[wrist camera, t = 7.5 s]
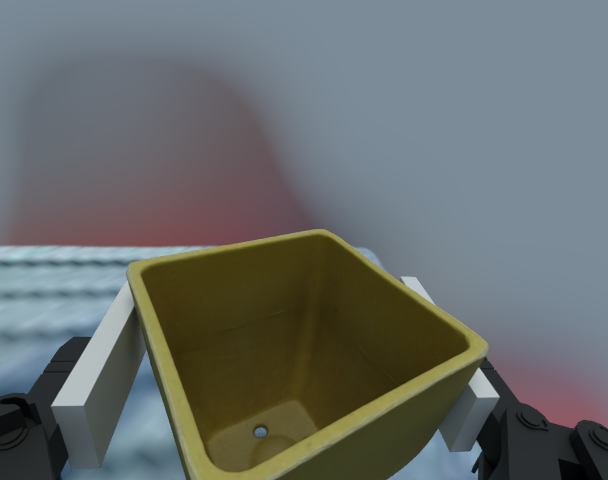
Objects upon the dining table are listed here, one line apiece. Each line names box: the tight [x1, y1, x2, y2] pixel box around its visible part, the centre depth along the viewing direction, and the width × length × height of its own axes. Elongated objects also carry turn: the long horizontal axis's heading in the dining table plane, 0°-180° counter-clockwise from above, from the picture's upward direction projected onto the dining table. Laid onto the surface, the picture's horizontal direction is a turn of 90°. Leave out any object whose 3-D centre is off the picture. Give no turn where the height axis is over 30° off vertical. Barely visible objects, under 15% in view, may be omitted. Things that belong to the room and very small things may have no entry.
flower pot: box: [126, 229, 489, 480], centre depth 13 cm, size 9×9×9 cm
